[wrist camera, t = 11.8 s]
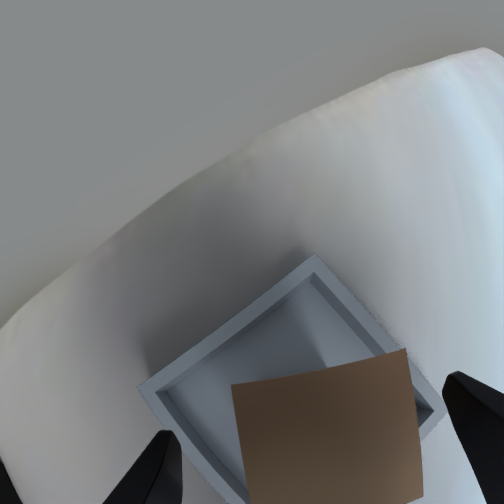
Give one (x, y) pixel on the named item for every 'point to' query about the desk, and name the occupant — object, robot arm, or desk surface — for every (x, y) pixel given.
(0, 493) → the battery
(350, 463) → the walnut block
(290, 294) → the tray
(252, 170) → the desk surface
